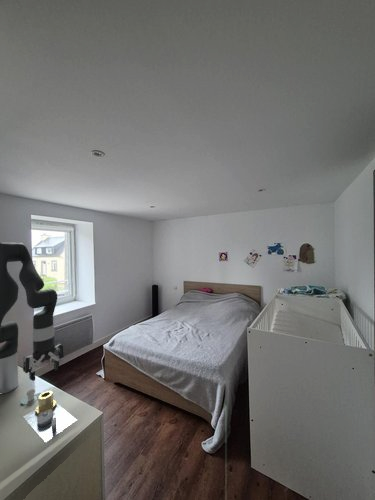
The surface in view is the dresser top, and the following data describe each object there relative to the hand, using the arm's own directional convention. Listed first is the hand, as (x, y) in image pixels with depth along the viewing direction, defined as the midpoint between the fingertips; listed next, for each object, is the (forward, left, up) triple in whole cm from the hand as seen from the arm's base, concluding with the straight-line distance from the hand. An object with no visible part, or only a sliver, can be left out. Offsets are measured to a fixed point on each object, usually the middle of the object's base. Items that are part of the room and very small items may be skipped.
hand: (44, 374), depth 86 cm
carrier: (+7, -1, -16) cm, 17 cm away
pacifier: (-13, -1, -16) cm, 21 cm away
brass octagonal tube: (0, 0, -15) cm, 15 cm away
